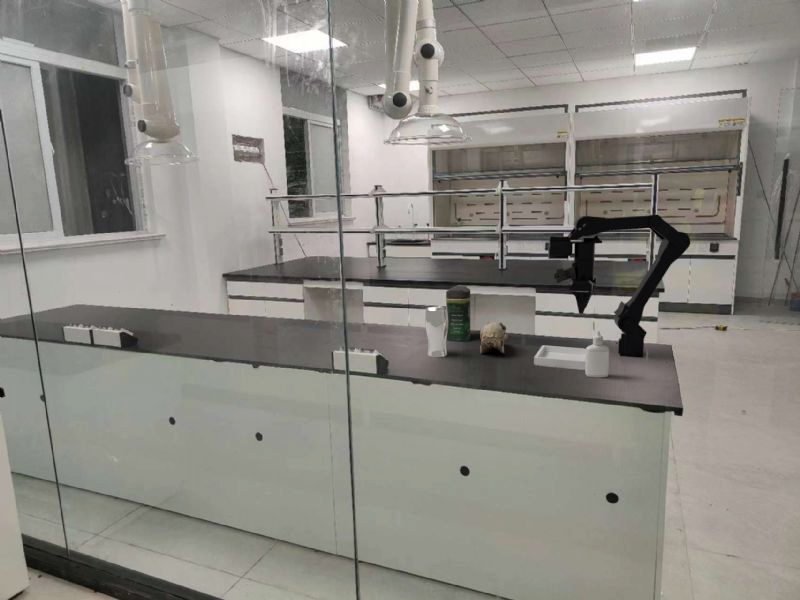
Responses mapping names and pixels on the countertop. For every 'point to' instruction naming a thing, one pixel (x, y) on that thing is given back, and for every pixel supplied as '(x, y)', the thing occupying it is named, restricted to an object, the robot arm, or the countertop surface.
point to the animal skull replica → (493, 337)
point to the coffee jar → (458, 313)
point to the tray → (561, 357)
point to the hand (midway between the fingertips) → (582, 310)
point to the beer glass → (436, 330)
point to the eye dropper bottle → (597, 358)
